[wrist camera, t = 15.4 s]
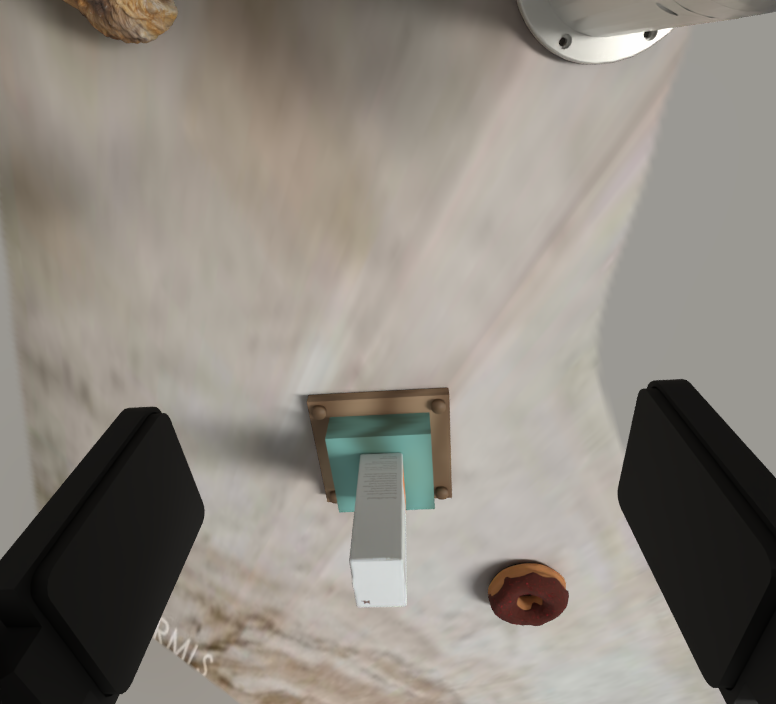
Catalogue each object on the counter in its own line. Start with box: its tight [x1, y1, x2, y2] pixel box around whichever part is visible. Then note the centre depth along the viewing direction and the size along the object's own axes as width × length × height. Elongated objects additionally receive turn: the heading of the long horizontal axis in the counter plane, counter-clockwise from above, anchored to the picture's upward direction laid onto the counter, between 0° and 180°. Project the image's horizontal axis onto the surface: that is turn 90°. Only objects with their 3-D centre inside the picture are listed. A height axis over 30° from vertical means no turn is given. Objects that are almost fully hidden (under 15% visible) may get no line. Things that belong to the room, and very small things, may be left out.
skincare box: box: [349, 453, 407, 607], centre depth 43 cm, size 6×4×12 cm
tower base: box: [307, 388, 452, 512], centre depth 50 cm, size 14×14×4 cm
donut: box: [488, 563, 569, 626], centre depth 62 cm, size 10×10×4 cm
